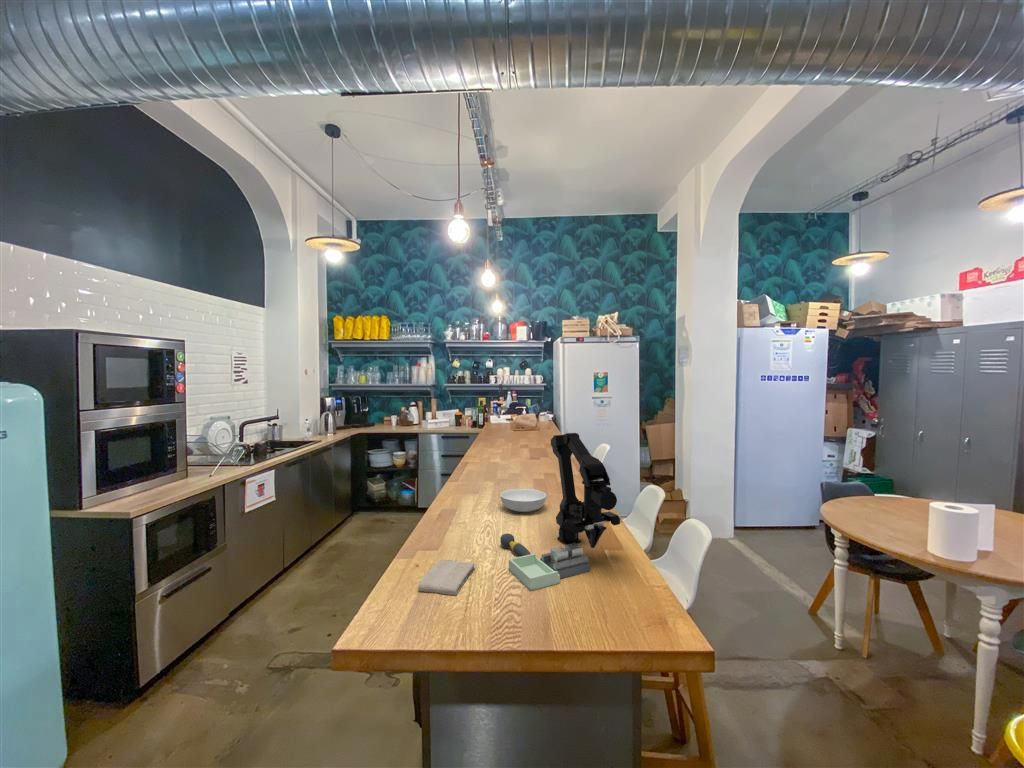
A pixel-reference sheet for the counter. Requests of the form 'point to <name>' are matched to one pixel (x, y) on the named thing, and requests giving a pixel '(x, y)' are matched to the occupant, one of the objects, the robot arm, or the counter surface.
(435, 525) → the counter surface
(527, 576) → the chip tray
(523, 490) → the serving bowl
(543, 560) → the slot board
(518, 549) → the paintbrush
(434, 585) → the washcloth
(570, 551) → the grey cube
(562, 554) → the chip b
